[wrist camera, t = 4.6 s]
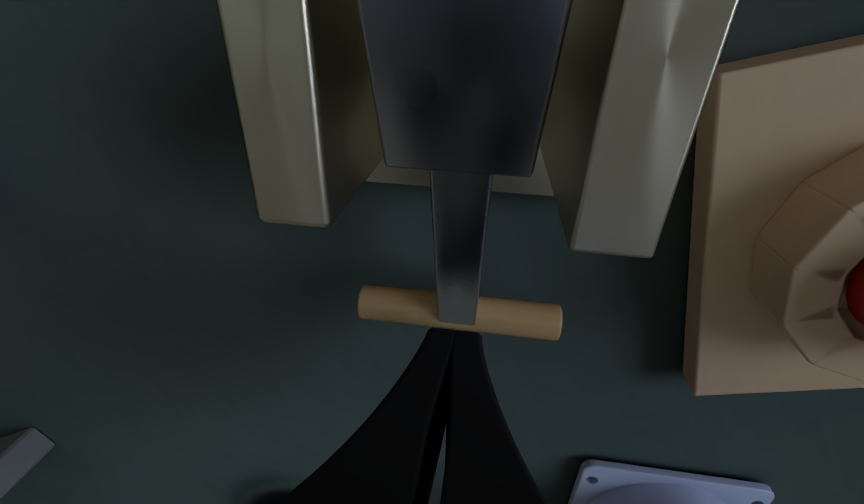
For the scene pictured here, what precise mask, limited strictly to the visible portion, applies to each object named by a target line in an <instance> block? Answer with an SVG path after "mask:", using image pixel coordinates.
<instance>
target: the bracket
mask: <svg viewBox="0 0 864 504" xmlns="http://www.w3.org/2000/svg"><path fill="white" fill-rule="evenodd" d="M739 2H740V0H573V2H572V6H571V10H570V15H569V19H568V24H567V28H566V32H565V37H564V41H563V45H562V50H561V54H560V58H559V63H558V67H557V71H556V76H555V80H554V85H553V89H552V93H551V98H550V102H549V106H548V111H547V115H546V119H545V124H544V128H543V132H542V137H541V141H540V145H539V150H538V154H537V159H536V163H535V167H534V172H533V173H532V175H531V176H530V177H518V176H505V175H493V180H492V188H491V191H493V192H505V193H518V194H531V195H544V196H554V198H555V201H556V205H557V208H558V211H559V215H560V218H561V222H562V225H563V229H564V232H565V236H566V239H567V243H568V246H569V249H570V250H571V251H574V252H585V253H595V254H606V255H617V256H628V257H639V258H652V257H653V255H654V253H655V250H656V247H657V244H658V241H659V238H660V235H661V232H662V229H663V226H664V223H665V220H666V217H667V214H668V211H669V208H670V205H671V202H672V200H673V197H674V194H675V191H676V188H677V185H678V182H679V179H680V176H681V173H682V170H683V167H684V164H685V161H686V158H687V155H688V152H689V149H690V146H691V143H692V141H693V138H694V135H695V132H696V129H697V126H698V123H699V120H700V117H701V114H702V111H703V108H704V105H705V102H706V99H707V96H708V93H709V90H710V87H711V84H712V82H713V79H714V76H715V73H716V70H717V67H718V65H719V62H720V60H721V58H722V55H723V52H724V49H725V46H726V43H727V39H728V35H729V31H730V28H731V25H732V23H733V20H734V17H735V14H736V11H737V8H738V5H739ZM216 3H217V8H218V13H219V18H220V23H221V28H222V34H223V39H224V44H225V49H226V54H227V59H228V64H229V69H230V74H231V80H232V85H233V90H234V95H235V100H236V105H237V110H238V115H239V120H240V126H241V131H242V136H243V141H244V146H245V151H246V156H247V161H248V166H249V172H250V177H251V182H252V187H253V192H254V197H255V202H256V207H257V212H258V217H259V219H260V220H261V221H263V222H267V223H278V224H289V225H300V226H311V227H322V228H324V227H328V226H330V225H331V224H332V223H333V222H334V220H335V219H336V218H337V216H338V215H339V214H340V213H341V211H342V210H343V209H344V207H345V206H346V205H347V204H348V202H349V201H350V200H351V199H352V197H353V196H354V195H355V193H356V192H357V191H358V190H359V188H360V187H361V186H362V185H363V183H364V182H365V181H366V182H378V183H391V184H404V185H417V186H429V187H430V173H429V170H424V169H411V168H397V167H388V166H386V164H385V161H384V156H383V150H382V145H381V139H380V133H379V128H378V122H377V116H376V111H375V105H374V99H373V94H372V88H371V82H370V77H369V71H368V65H367V59H366V54H365V48H364V42H363V37H362V31H361V25H360V20H359V14H358V8H357V3H356V0H216Z"/></svg>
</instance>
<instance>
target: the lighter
mask: <svg viewBox="0 0 864 504" xmlns="http://www.w3.org/2000/svg"><path fill="white" fill-rule="evenodd" d="M54 446H55V445H54V443H53V442H52V441H50V440H49V439H48V438H47V437H45V436H44V435H43V434H41V433H40V432H39V431H38V430H36V429H35V428H32V427H30V428H27V429H25V430H22V431H19V432H16V433H13V434H10V435H7V436H5V437H2V438H0V499H1V498H2V497H3V496H4V495H5V494H6V493H7V492H8V491H9V490H10V489H11V488H12V487H13V486H14V485H15V484H16V483H17V482H18V481H19V480H20V479H21V478H22V477H23V476H24V475H25V474H26V473H27V472H28V471H29V470H30V469H31V468H32V467H34V466H35V465H36V464H37V463H38V462H39V461H40V460H41V459H42V458H43V457H44V456H45V455H46V454H47V453H48V452H49V451H50V450H51V449H52V448H53V447H54Z"/></svg>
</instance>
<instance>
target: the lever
mask: <svg viewBox="0 0 864 504" xmlns="http://www.w3.org/2000/svg"><path fill="white" fill-rule="evenodd" d="M572 2H573V0H356V3H357V8H358V14H359V20H360V25H361V31H362V37H363V42H364V48H365V54H366V59H367V65H368V71H369V77H370V82H371V88H372V94H373V99H374V105H375V111H376V116H377V122H378V128H379V133H380V139H381V145H382V150H383V156H384V161H385V164H386V166H388V167H397V168H411V169H424V170H429V173H430V190H431V208H432V225H433V243H434V260H435V278H436V291H429V290H420V289H410V288H400V287H391V286H381V285H372V284H364V285H363V286H362V288H361V290H360V292H359V296H358V303H357V311H358V316H359V317H360V318H361V319H368V320H377V321H385V322H394V323H403V324H412V325H421V326H429V327H438V328H447V329H456V330H464V331H473V332H482V333H491V334H499V335H508V336H517V337H526V338H535V339H543V340H552V341H556V340H558V339H559V337H560V335H561V330H562V321H563V315H562V309H561V306H560V305H558V304H553V303H543V302H534V301H524V300H515V299H505V298H496V297H486V296H479V289H480V280H481V272H482V264H483V255H484V247H485V238H486V230H487V222H488V213H489V205H490V197H491V188H492V180H493V175H505V176H518V177H530V176H531V175H532V173H533V172H534V167H535V163H536V159H537V154H538V150H539V145H540V141H541V137H542V132H543V128H544V124H545V119H546V115H547V111H548V106H549V102H550V98H551V93H552V89H553V85H554V80H555V76H556V71H557V67H558V63H559V58H560V54H561V50H562V45H563V41H564V37H565V32H566V28H567V24H568V19H569V15H570V10H571V6H572Z"/></svg>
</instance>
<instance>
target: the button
mask: <svg viewBox="0 0 864 504" xmlns="http://www.w3.org/2000/svg"><path fill="white" fill-rule="evenodd" d="M846 301H847V305H848V308H849V310H850V312H851V314H852V315H853V317H854V318H855V319H856V320H857V321H858V322H860V323H861V324H862V325H863V326H864V258H863V259H862V260H861V261H860V262H859V263H858V264H857V265H856V267H855V268H854V270H853V272H852V274H851V275H850V278H849V280H848V283H847V288H846Z"/></svg>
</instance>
